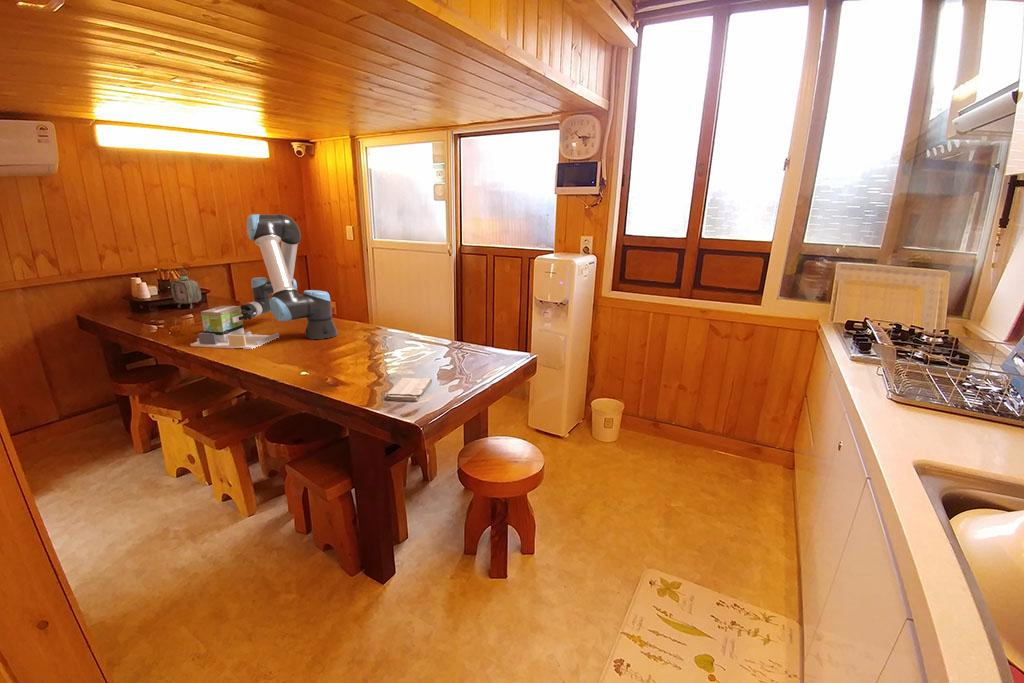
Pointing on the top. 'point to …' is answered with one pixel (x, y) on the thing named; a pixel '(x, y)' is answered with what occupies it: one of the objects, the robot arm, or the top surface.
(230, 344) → the tag dock
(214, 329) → the tea box
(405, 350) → the top surface
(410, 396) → the washcloth
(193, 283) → the tabletop clock
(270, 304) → the robot arm
